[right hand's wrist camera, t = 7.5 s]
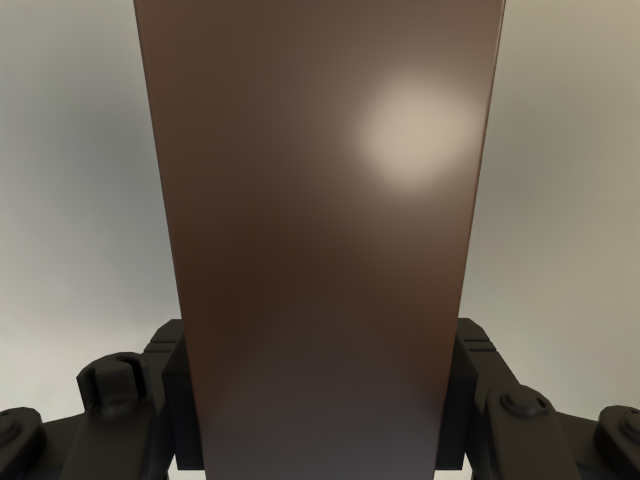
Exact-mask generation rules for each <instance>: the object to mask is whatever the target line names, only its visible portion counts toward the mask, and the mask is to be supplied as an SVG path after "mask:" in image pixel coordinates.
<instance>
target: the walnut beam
mask: <svg viewBox="0 0 640 480" xmlns="http://www.w3.org/2000/svg"><path fill="white" fill-rule="evenodd" d="M133 2H134V8H135V15H136V21H137V28H138V35H139V41H140V48H141V54H142V61H143V67H144V74H145V81H146V87H147V94H148V100H149V107H150V113H151V120H152V127H153V133H154V140H155V146H156V153H157V159H158V166H159V173H160V179H161V186H162V192H163V199H164V205H165V212H166V219H167V225H168V232H169V238H170V245H171V251H172V258H173V264H174V271H175V278H176V284H177V291H178V297H179V304H180V310H181V317H182V324H183V330H184V337H185V343H186V350H187V356H188V363H189V370H190V376H191V383H192V389H193V396H194V402H195V409H196V416H197V422H198V429H199V435H200V442H201V448H202V455H203V462H204V468H205V475H206V480H433V479H434V473H435V466H436V460H437V453H438V446H439V440H440V433H441V427H442V420H443V413H444V407H445V400H446V393H447V387H448V380H449V374H450V367H451V360H452V354H453V347H454V341H455V334H456V327H457V321H458V314H459V307H460V301H461V294H462V288H463V281H464V274H465V268H466V261H467V255H468V248H469V241H470V235H471V228H472V222H473V215H474V208H475V202H476V195H477V188H478V182H479V175H480V169H481V162H482V155H483V149H484V142H485V136H486V129H487V122H488V116H489V109H490V102H491V96H492V89H493V83H494V76H495V69H496V63H497V56H498V50H499V43H500V36H501V30H502V23H503V16H504V10H505V3H506V0H133Z"/></svg>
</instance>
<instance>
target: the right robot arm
mask: <svg viewBox="0 0 640 480" xmlns="http://www.w3.org/2000/svg"><path fill="white" fill-rule="evenodd" d="M76 379H77V382H78V386H79V390H80V394H81V397H82V401H83V405H84V409H85V411H84V413H82V414H79V415H75V416H72V417H67V418H63V419H59V420H54V421H50V422H46V423H43V422H42V419H41V416H40V413H38V412H37V411H36V410H35V409H33V408H27V407H19V408H12V409H7V410H4V411H2V412H0V480H169V476H168V469H169V467H170V464H171V462H172V459H173V457H174V454H175V457H176V462H177V468H178V470H205V468H204V462H203V455H202V448H201V442H200V435H199V429H198V422H197V416H196V409H195V402H194V396H193V389H192V383H191V376H190V370H189V363H188V356H187V350H186V343H185V337H184V330H183V324H182V319H171V320H170V321H169V322H167V323H166V324H164V325H163V326H162V327H160V328H159V329H158V330H157V331H156V333H155V334H154V336H153V337H152V339H151V340H150V343H148V345H147V346H146V348H145V349H144V353H142V354H138V353H134V352H118V353H114V354H110V355H106V356H104V357H102V358H99V359H97V360H95V361H93V362H92V363H90V364H89V365H87V366H86V367H85V368H83V369H82V371H81V372H80V373H79V374H78V376H77V377H76ZM465 453H466V455H467V458H468V460H469V463H470V465H471V468H472V476H471V480H640V410H638V409H635V408H632V407H626V406H619V405H615V406H609V407H606V408H605V409H603V410H602V411H601V412H600V415H599V418H598V421H593V420H589V419H584V418H580V417H575V416H571V415H567V414H563V413H560V412H557V411H555V409H554V407H553V406H552V404H551V403H550V401H549V400H548V399H547V398H545V397H544V396H543V395H542V394H541V393H539V392H537V391H535V390H533V389H532V388H530V387H528V386H524V385H521V384H520V383H519V382H518V380H517V379H516V377H515V376H514V374H513V373H512V372H511V370H510V369H509V367H508V366H507V364H506V363H505V361H504V360H503V358H502V357H501V355H500V354H499V352H497V351H496V348H495V346H494V345H493V343H492V342H490V339H489V337H488V336H487V334H486V333H485V332H484V330H483V329H482V328H481V327H480V326H479V325H477V324H476V323H475V322H473V321H472V320H470V319H469V318H458V321H457V327H456V334H455V341H454V347H453V354H452V360H451V367H450V374H449V380H448V387H447V393H446V400H445V407H444V413H443V420H442V427H441V433H440V440H439V446H438V453H437V460H436V466H435V470H462V467H463V461H464V455H465Z"/></svg>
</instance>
